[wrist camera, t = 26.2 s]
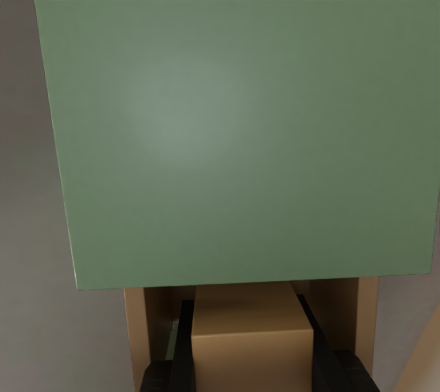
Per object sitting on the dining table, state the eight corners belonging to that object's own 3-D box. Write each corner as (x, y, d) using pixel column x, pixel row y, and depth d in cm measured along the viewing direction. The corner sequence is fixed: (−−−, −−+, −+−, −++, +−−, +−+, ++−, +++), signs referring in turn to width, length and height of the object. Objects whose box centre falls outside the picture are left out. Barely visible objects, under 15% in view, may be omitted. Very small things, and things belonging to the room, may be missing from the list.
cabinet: (334, 207, 21) (431, 275, 12) (136, 216, 21) (75, 291, 12) (344, -55, 18) (487, -244, 9) (110, -47, 18) (-2, -231, 8)
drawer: (324, 404, 23) (377, 541, 16) (161, 413, 23) (136, 555, 16) (333, 132, 19) (411, 140, 12) (135, 140, 19) (85, 153, 12)
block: (286, 353, 18) (311, 430, 13) (200, 357, 17) (197, 437, 13) (287, 274, 17) (314, 330, 12) (196, 278, 16) (191, 336, 12)
